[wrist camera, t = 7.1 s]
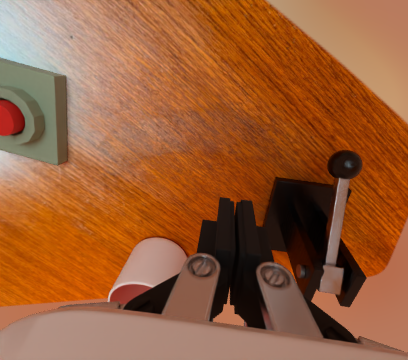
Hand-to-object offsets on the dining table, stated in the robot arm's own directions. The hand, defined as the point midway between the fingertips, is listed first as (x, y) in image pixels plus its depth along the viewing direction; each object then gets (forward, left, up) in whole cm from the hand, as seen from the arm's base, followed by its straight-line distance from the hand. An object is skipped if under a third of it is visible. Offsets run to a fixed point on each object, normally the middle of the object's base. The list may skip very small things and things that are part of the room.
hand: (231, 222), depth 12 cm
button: (+5, -27, -17) cm, 32 cm away
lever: (+5, +13, -13) cm, 19 cm away
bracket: (+10, +14, -20) cm, 26 cm away
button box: (+5, -27, -20) cm, 34 cm away
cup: (+25, -5, -21) cm, 33 cm away
